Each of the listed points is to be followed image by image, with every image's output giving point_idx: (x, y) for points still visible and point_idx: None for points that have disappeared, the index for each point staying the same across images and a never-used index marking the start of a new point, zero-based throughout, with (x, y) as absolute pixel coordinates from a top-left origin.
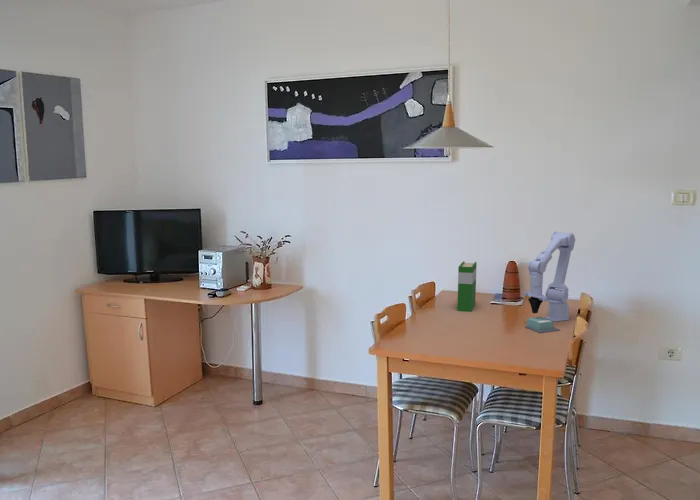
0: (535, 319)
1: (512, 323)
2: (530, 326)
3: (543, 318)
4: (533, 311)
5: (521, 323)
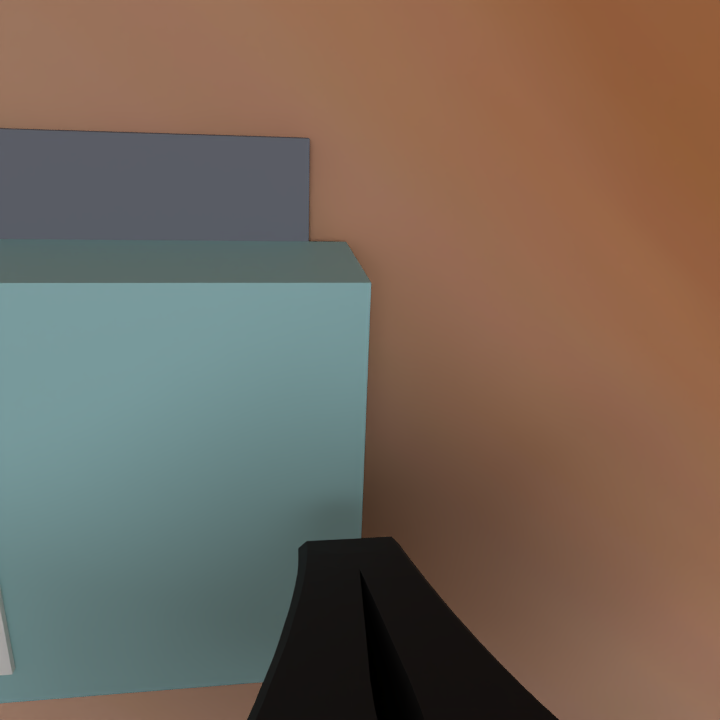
0: (191, 431)
1: (683, 97)
2: (216, 242)
3: (204, 658)
4: (329, 568)
5: (580, 286)
